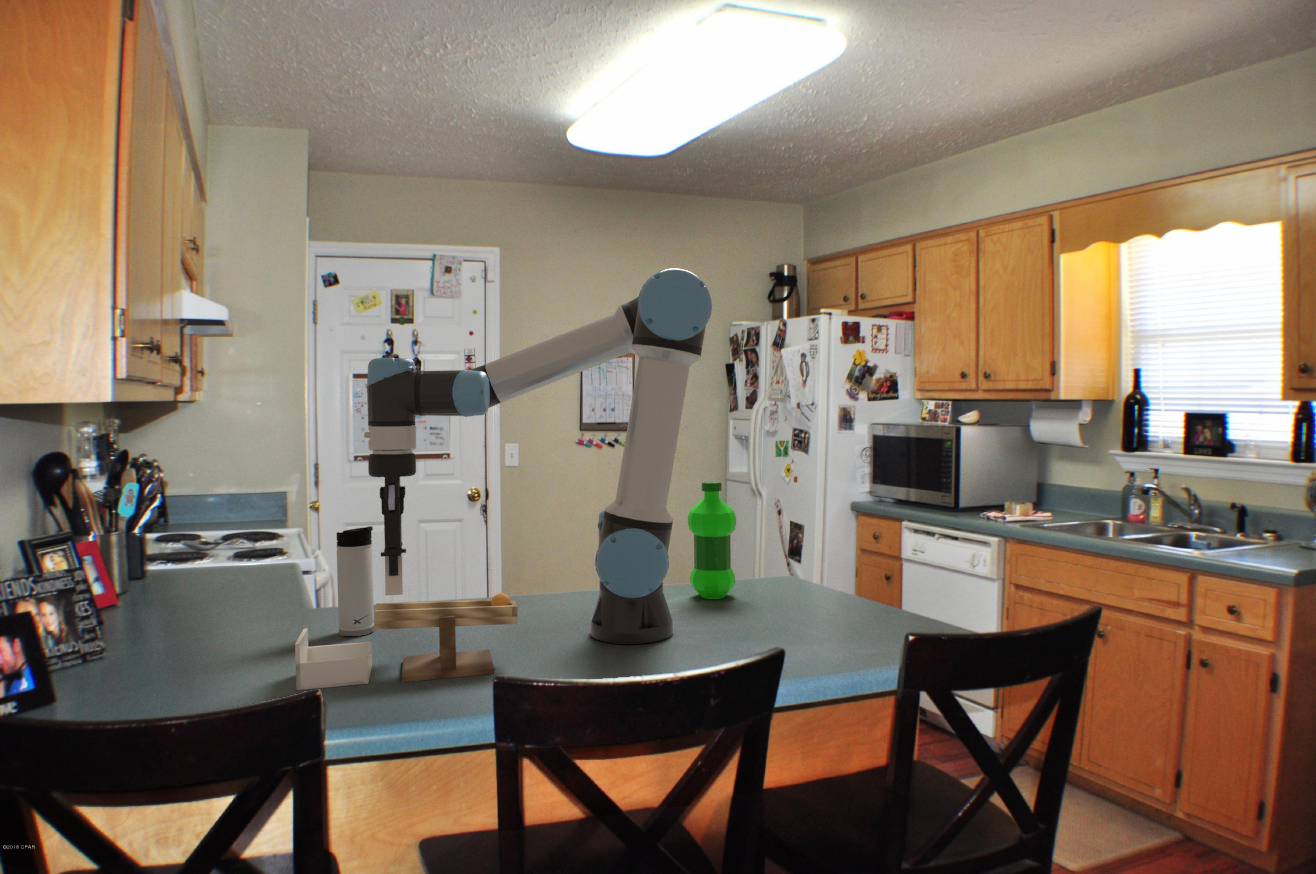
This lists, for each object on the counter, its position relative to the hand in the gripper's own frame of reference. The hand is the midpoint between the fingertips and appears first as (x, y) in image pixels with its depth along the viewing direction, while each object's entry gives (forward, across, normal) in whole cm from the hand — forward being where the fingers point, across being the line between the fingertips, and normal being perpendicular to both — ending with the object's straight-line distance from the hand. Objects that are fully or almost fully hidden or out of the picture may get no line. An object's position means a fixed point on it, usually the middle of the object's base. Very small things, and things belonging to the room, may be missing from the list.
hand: (394, 593), depth 141 cm
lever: (+4, +3, +8) cm, 10 cm away
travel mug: (+12, -21, -8) cm, 25 cm away
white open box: (+11, +6, -9) cm, 16 cm away
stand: (+11, +6, +8) cm, 15 cm away
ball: (+1, +6, +17) cm, 18 cm away
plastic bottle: (+11, -28, +65) cm, 72 cm away
